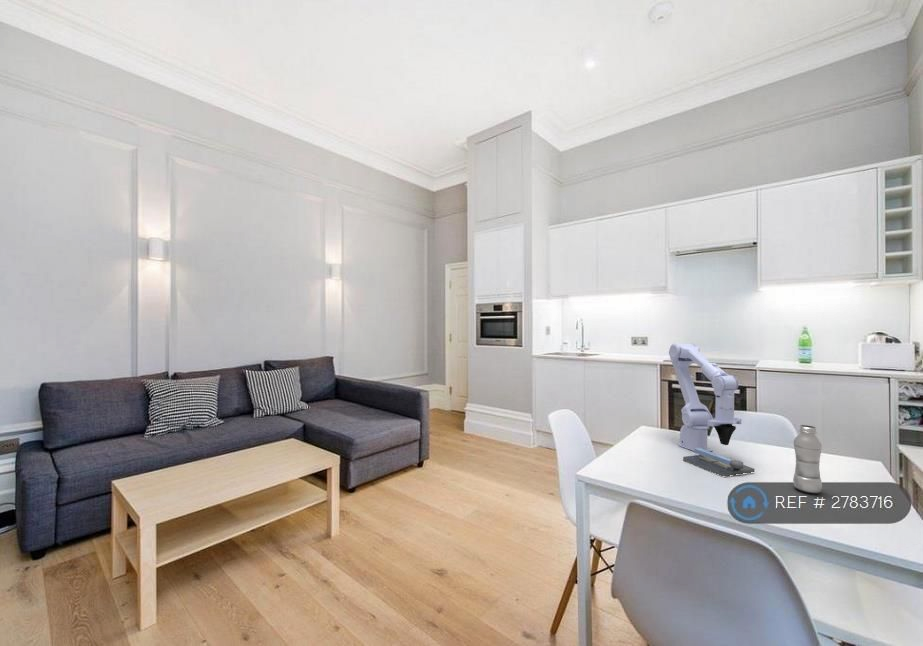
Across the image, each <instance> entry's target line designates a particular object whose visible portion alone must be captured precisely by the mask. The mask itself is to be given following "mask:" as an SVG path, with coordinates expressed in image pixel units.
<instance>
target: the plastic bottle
mask: <svg viewBox="0 0 923 646" xmlns="http://www.w3.org/2000/svg"><path fill="white" fill-rule="evenodd" d="M798 431H799V433H798V435H796V436H795V438H794V439H793V449H794V455H795V467H794V474H793V479H792V481H793V485H794V487H795V488H796V489H797V490H799V491H802V492H805V493H809V494H810V493H811V494H819V493H821V491H822V488H823V483H822V478H821V472H820V461H821V460H820V459H821V456H822V455H821V453H822V448H823V446H822V442H821V441H820V440H819V438H818V437H817V435H816V434H817V427H816V426H813V425H806V424H800V425H799V430H798Z"/></svg>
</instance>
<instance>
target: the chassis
mask: <svg viewBox="0 0 923 646" xmlns="http://www.w3.org/2000/svg"><path fill="white" fill-rule="evenodd" d="M682 461H683V462H685V463H688V464H690V465H692V464H693V466H695V467H697V466H698V468H700V469H702V468H703V469H702V470H704V471H707V470H708V471H707V472H710V471H711V472H710V473H712V472H713V473H712V474H714V473H716V474H715V475H717V474H719V475H721V476H720V477H722V476H730V475H736V474H743V473H751V472H755V467H751V466H748V465H746V464H743V469H736V468H732V467H731V466H729V465H726V464H724V463H721V462H718V461H716V460H713V459H710V458H707V457H705V456H702V455H699V454H695V455H694V454H693V455H687V456H683V458H682ZM719 475H718V476H719Z"/></svg>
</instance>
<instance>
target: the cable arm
mask: <svg viewBox="0 0 923 646" xmlns="http://www.w3.org/2000/svg"><path fill="white" fill-rule="evenodd" d="M693 453H695V454H696V455H702V456H705V457H707V458H710V459H713V460H716V461H718V462H721V463H724V464H726V465H729V466H731V467H732V468H736V469H743V465H744V462H743V461H741V460H737V459H731V458H728V457H726V456H723V455H721V454H718V453H716V452H713V451H707V450H704V449H701V448H694V451H693Z"/></svg>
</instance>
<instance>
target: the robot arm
mask: <svg viewBox="0 0 923 646" xmlns="http://www.w3.org/2000/svg"><path fill="white" fill-rule="evenodd" d="M668 355H669V359H670V361H671V364H672V365H673V369H674V371H675V375H676V378H677V382H678V385H679V388H680V391H681V394H682V397H683V400H684V403H685V405H684V406H683V407H682V408H681V411H680V412H681V421H682V422H683V425H682V426H681V428H680V430H679V431H680V432H679V444H678V446H679V447H681V448H682V447H683V448H685V449H687V450H690V451H693V452H694V448H701V449H704V450H707V451H710V452H713V449H711V448H708V429H710V427H712V428H714V430H715V431H716V433H717V435H718V439H719V443H720V444H721V445H724V446H729V444H730V440H731V438H732V435H733V434H734V432H735V430H736V429H737V426H736V425H742V418H739V417H735V391H737V390H738V389H739V380H738V379H737V378H736V376H735V375H732V374H728V373H726V372H725V371H724V370H723V369H722V368H721V367H720V366H718V364H717V362H716V363H714V362H710V361H709V360H708V359H707V358H706V357H705V356H704V355H703V354H702V353H701V351H700V347H698V346H697V344H696V343H672V344H671V345H670V347H669V350H668ZM693 363H695V364H696V365H697V366H698V367H700V368H701V372H702V374H703V375H704V376H705V377H706V378H707V379H708V380H709V381H710V382H711V387H712V389H713V394H714V395H715V407H714V409H715V411H714V413H715V414H714V415H715V417H714V418H713V415H712V414H711V412H710V410H709V409H708V407H707V406H706V405H705V404H704V403H702V402H701V401H700V399H699V395H698V392H697V389H696V386H695V383H694V380H693V377H692V375H691V371H690V368H689V367H690V366H691V365H692V364H693Z"/></svg>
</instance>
